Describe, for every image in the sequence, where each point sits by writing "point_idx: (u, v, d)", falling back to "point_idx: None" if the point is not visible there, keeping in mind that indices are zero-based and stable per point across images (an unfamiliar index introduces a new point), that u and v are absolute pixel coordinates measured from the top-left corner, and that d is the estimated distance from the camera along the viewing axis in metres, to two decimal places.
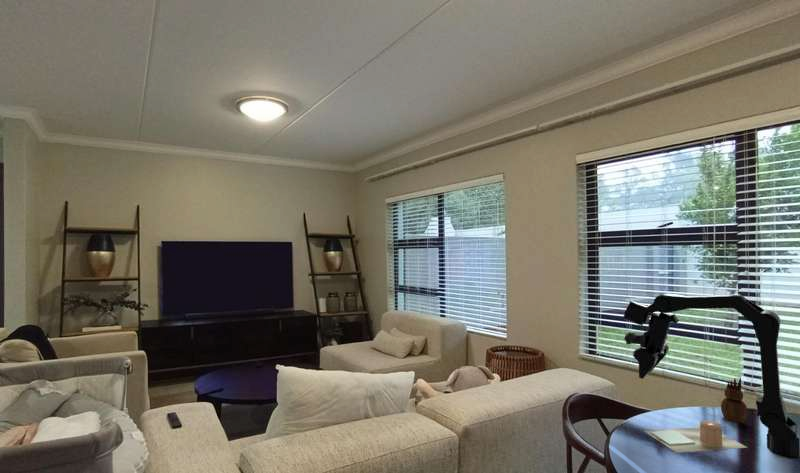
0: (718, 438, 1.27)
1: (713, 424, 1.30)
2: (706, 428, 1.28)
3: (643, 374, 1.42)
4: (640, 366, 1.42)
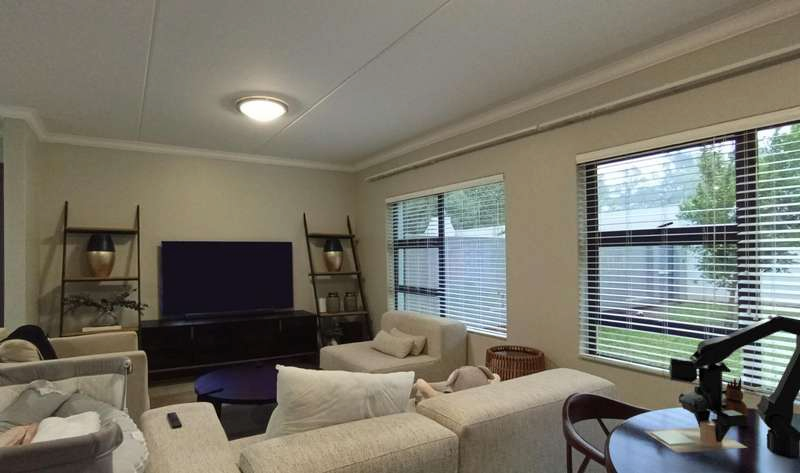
0: None
1: (713, 424, 1.30)
2: (706, 428, 1.28)
3: (722, 437, 1.26)
4: (720, 429, 1.26)
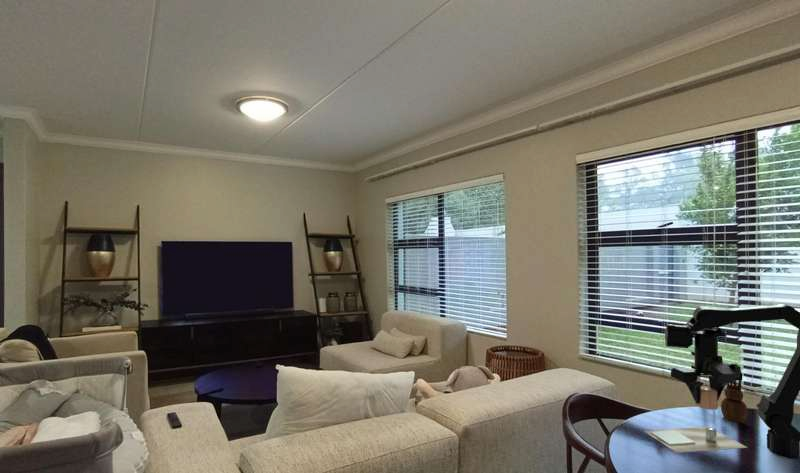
0: None
1: (705, 388, 1.31)
2: (716, 394, 1.28)
3: None
4: None
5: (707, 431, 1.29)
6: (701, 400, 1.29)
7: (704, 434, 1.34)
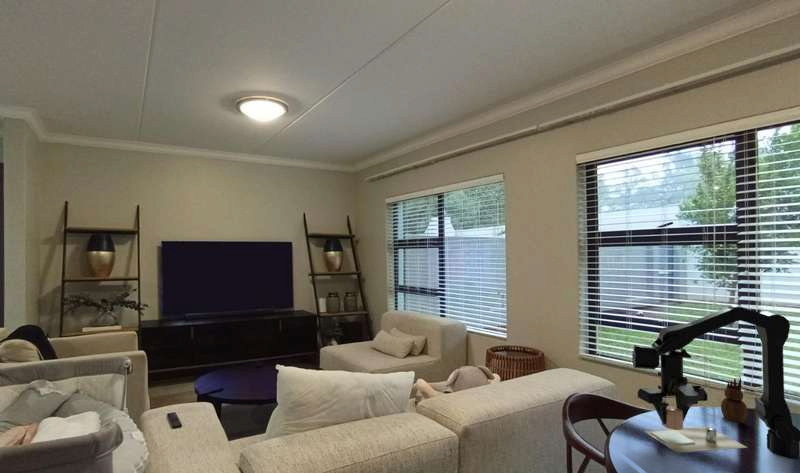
0: None
1: (671, 408, 1.32)
2: (681, 414, 1.29)
3: None
4: None
5: (707, 431, 1.29)
6: (667, 420, 1.30)
7: (704, 434, 1.34)
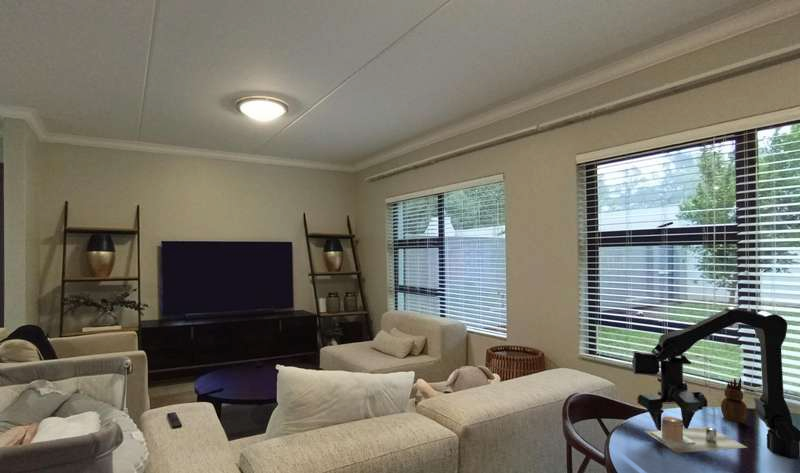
0: None
1: (671, 419, 1.32)
2: (681, 425, 1.29)
3: None
4: None
5: (707, 431, 1.29)
6: (667, 431, 1.30)
7: (704, 434, 1.34)
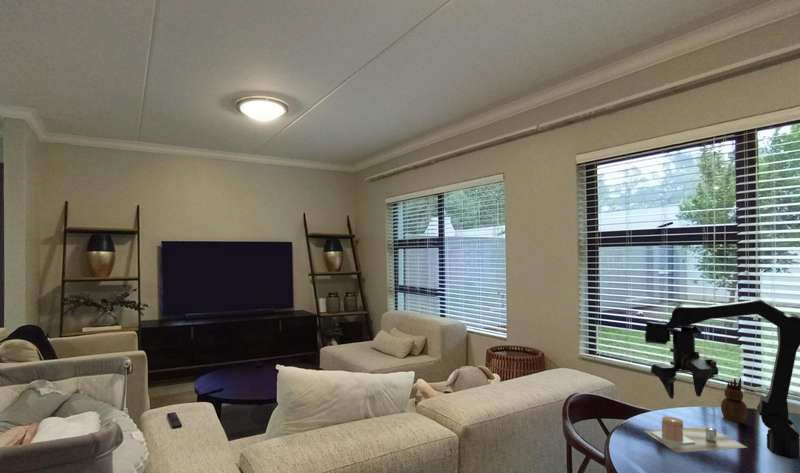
0: None
1: (671, 419, 1.32)
2: (681, 425, 1.29)
3: None
4: None
5: (707, 431, 1.29)
6: (667, 431, 1.30)
7: (704, 434, 1.34)
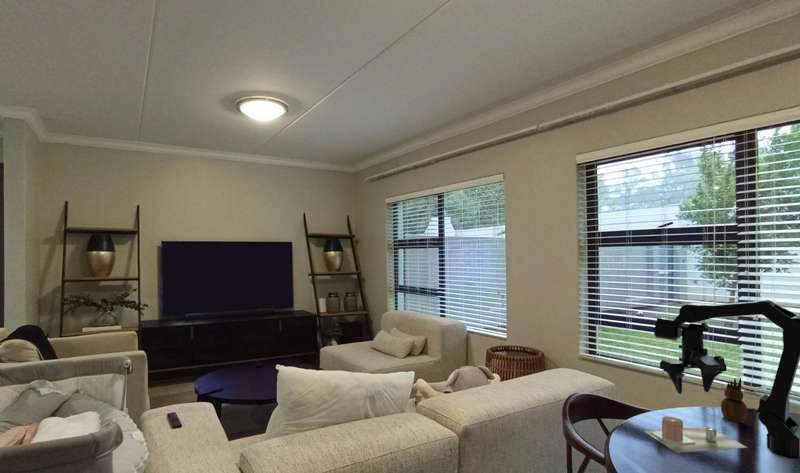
0: None
1: (671, 419, 1.32)
2: (681, 425, 1.29)
3: None
4: None
5: (707, 431, 1.29)
6: (667, 431, 1.30)
7: (704, 434, 1.34)
